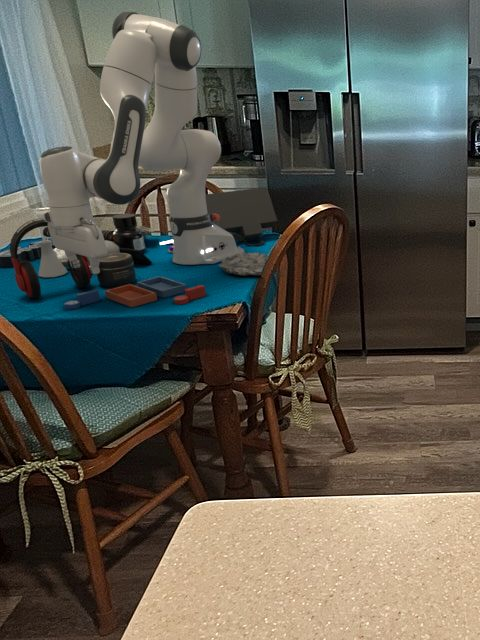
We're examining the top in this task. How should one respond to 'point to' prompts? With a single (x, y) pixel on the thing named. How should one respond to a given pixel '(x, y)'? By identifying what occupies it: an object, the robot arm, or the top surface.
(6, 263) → the logo
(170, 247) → the building blocks
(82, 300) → the navy paddle shape
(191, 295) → the red paddle shape
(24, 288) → the headphones
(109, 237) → the flashlight
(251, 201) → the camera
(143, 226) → the topographic map
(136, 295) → the terracotta tray
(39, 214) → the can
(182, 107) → the robot arm
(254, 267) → the rock
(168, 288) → the blue tray
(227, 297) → the top surface
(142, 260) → the smartphone
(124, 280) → the jar
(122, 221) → the ink bottle
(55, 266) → the flask
